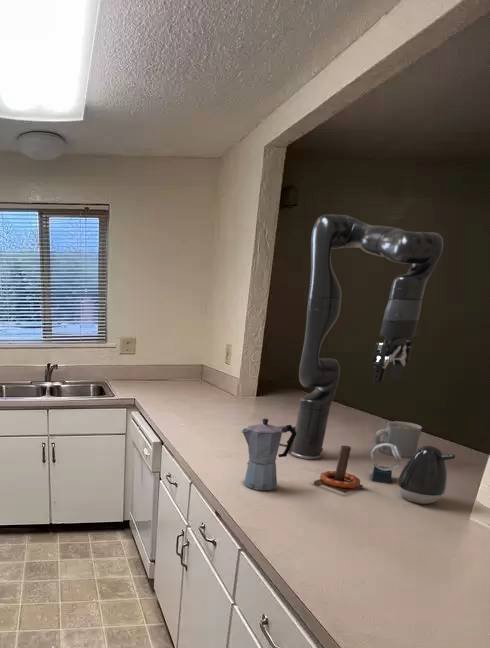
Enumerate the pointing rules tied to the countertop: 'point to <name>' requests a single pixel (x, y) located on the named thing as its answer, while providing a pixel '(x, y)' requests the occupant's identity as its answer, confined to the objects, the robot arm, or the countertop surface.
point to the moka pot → (264, 453)
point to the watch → (385, 472)
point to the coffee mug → (400, 437)
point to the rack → (340, 471)
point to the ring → (354, 481)
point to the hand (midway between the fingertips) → (386, 381)
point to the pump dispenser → (424, 476)
